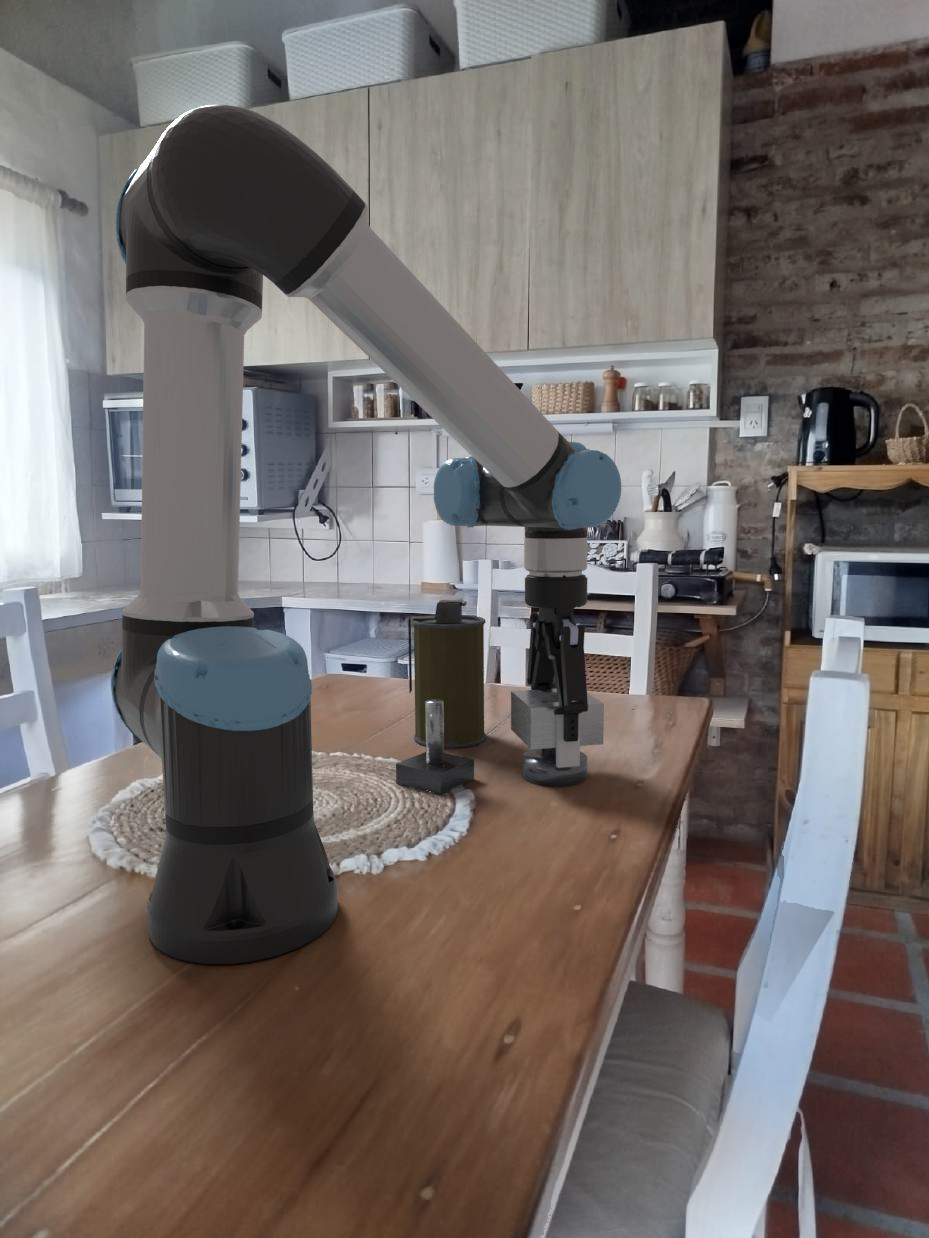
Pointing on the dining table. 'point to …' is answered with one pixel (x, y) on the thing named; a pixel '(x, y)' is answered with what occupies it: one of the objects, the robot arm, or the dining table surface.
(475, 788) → the dining table surface
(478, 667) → the canister
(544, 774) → the cylinder
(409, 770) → the stand
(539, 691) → the grey square ring block
